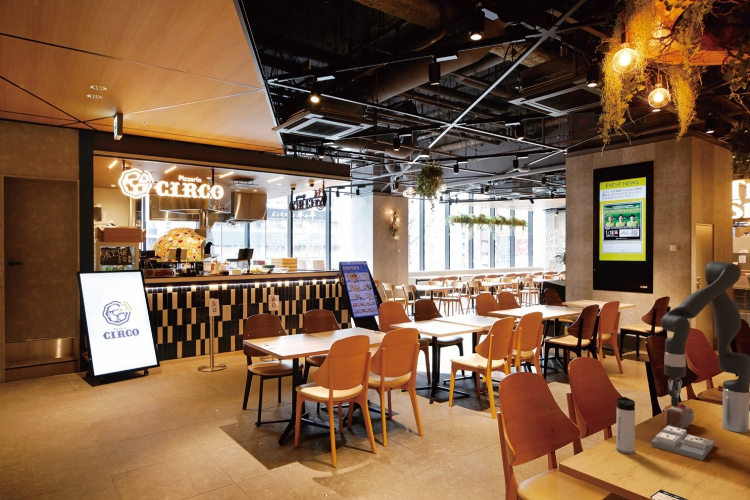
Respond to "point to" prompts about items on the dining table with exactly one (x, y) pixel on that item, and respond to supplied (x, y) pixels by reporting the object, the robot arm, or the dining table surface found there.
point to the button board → (683, 444)
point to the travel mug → (625, 426)
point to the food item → (679, 416)
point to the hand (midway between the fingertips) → (674, 405)
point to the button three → (696, 439)
